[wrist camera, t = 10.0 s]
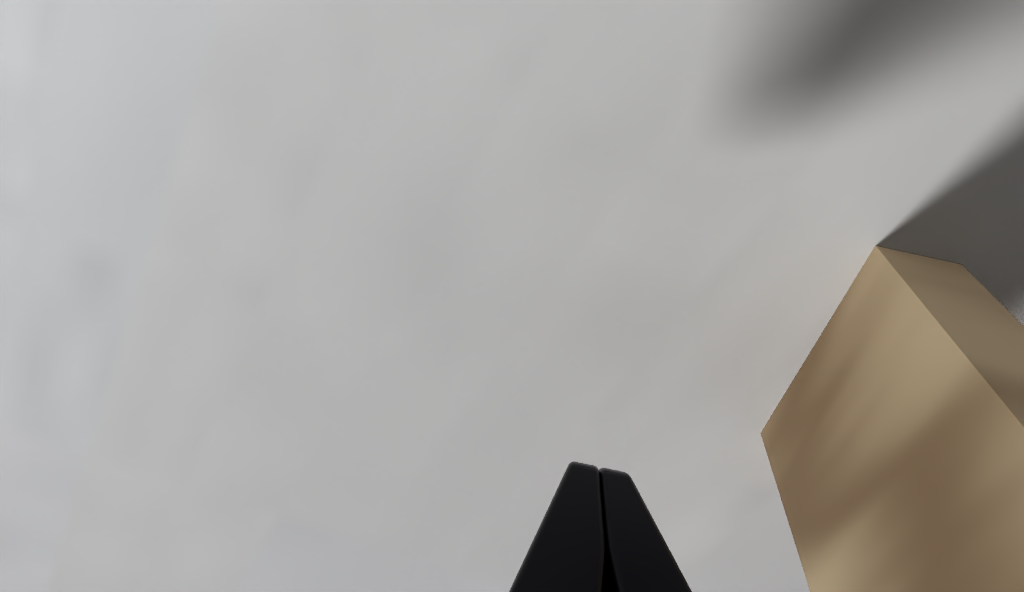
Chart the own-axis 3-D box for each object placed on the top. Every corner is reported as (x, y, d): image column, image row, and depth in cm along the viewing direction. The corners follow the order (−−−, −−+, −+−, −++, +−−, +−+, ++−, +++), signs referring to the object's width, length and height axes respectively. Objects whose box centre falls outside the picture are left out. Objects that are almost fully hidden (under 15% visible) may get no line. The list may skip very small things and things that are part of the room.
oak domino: (829, 448, 14) (1004, 857, 8) (760, 433, 14) (885, 832, 8) (961, 264, 11) (1392, 691, 5) (875, 245, 11) (1206, 649, 5)
